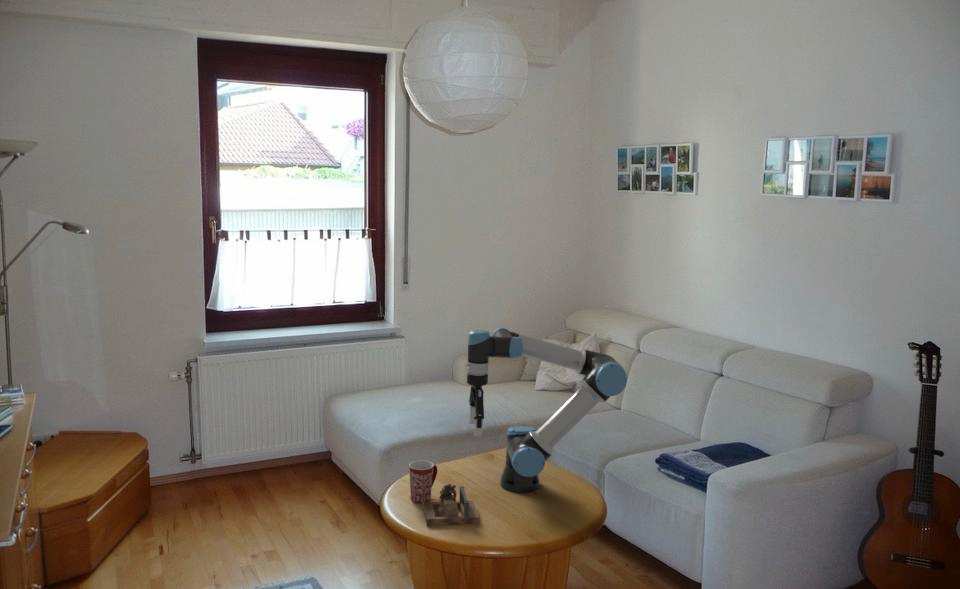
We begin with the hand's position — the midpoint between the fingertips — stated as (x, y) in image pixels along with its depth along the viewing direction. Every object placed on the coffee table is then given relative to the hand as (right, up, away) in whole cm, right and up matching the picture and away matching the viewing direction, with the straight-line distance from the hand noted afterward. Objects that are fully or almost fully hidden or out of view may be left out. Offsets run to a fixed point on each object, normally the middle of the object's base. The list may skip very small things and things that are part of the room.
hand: (475, 429), depth 290 cm
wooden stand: (-9, -29, -11) cm, 32 cm away
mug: (-19, -26, +3) cm, 32 cm away
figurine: (-10, -29, -11) cm, 32 cm away
